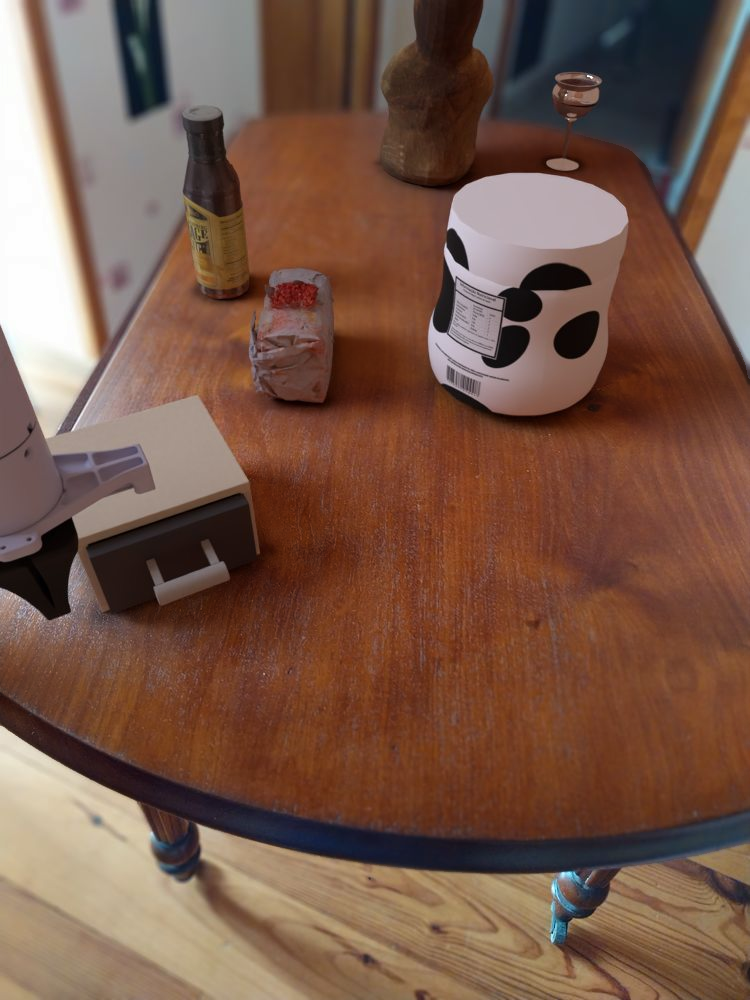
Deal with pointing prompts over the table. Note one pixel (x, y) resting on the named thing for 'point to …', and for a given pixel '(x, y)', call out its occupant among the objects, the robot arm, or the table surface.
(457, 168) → the ceramic vessel
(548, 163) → the wineglass
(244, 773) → the table surface
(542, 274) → the milk container
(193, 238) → the sauce bottle
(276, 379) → the food item
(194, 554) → the drawer
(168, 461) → the beige box-shaped shell
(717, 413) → the table surface
